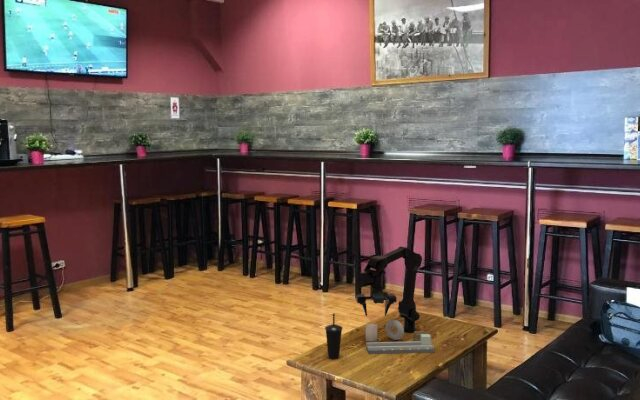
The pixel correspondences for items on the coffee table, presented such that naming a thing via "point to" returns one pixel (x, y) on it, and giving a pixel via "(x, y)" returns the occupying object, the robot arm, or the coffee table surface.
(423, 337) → the tally marker
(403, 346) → the rail
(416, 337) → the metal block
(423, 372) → the coffee table surface
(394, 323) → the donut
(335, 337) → the drinking cup
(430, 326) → the coffee table surface
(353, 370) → the coffee table surface
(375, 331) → the white rounded cylinder
